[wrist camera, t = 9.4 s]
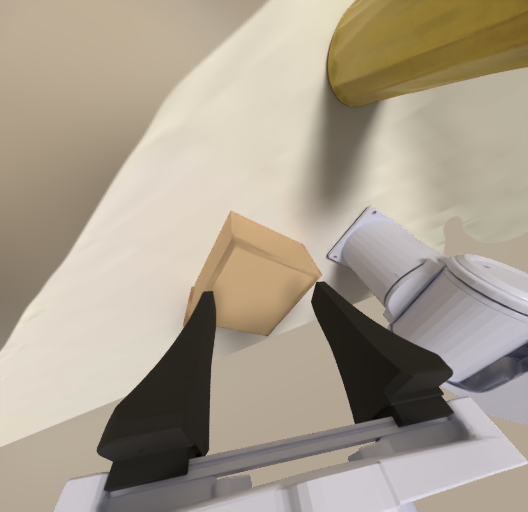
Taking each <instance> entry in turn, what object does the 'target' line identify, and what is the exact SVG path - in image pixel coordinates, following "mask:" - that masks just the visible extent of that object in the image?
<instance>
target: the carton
mask: <svg viewBox="0 0 528 512" xmlns="http://www.w3.org/2000/svg"><path fill="white" fill-rule="evenodd" d="M321 276H322V274H321V272H320V271H319V269H318V267H317V266H316V264H315V263H314V261H313V259H312V258H311V256H310V255H309V253H308V252H307V250H306V248H305V247H304V245H303V244H301V243H299V242H297V241H294V240H292V239H290V238H288V237H286V236H284V235H282V234H279V233H277V232H275V231H273V230H271V229H269V228H267V227H264V226H262V225H260V224H258V223H256V222H254V221H252V220H249V219H247V218H245V217H243V216H241V215H239V214H237V213H234V212H232V211H230V213H229V215H228V218H227V220H226V222H225V224H224V226H223V228H222V230H221V232H220V234H219V236H218V238H217V240H216V242H215V244H214V246H213V248H212V250H211V252H210V254H209V256H208V258H207V260H206V262H205V265H204V267H203V269H202V271H201V273H200V275H199V277H198V279H197V281H196V284H195V289H194V294H193V298H192V303H191V308H190V313H189V318H190V317H191V315H192V313H193V311H194V309H195V307H196V305H197V303H198V301H199V299H200V297H201V294H202V293H203V292H204V291H213V293H214V299H215V305H216V326H218V327H223V328H228V329H233V330H238V331H244V332H249V333H254V334H259V335H264V336H268V335H269V334H270V333H271V332H272V331H273V330H274V328H275V327H276V326H277V325H278V324H279V323H280V322H281V321H282V320H283V318H284V317H285V316H286V315H287V314H288V313H289V312H290V311H291V309H292V308H293V307H294V306H295V305H296V304H297V303H298V302H299V300H300V299H301V298H302V297H303V296H304V295H305V294H306V293H307V291H308V290H309V289H310V288H311V287H312V286H313V285H314V284H315V282H316V281H317V280H318V279H319V278H320V277H321ZM189 318H188V320H189Z"/></svg>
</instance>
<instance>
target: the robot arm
mask: <svg viewBox="0 0 528 512" xmlns="http://www.w3.org/2000/svg"><path fill="white" fill-rule="evenodd" d="M373 211H374V213H373ZM334 256H335V257H334ZM328 257H329V258H330V259H332V260H334V261H336V262H339V263H341V264H343V265H345V266H347V267H349V268H351V269H352V270H353V271H354V272H355V273H356V274H357V276H358V277H359V278H360V279H361V280H362V281H363V283H364V284H365V285H366V286H367V287H368V288H369V289H370V291H371V292H372V293H373V294H374V295H375V296H376V297H377V299H378V300H379V301H380V302H381V303H382V304H383V306H384V307H385V308H386V310H385V312H384V313H383V316H384V317H385V318H386V319H387V320H388V322H389V323H390V324H389V326H388V328H387V329H386V328H384V327H383V326H381V325H379V324H378V323H376V322H375V321H373V320H372V319H370V318H369V317H367V316H366V315H365V314H363V313H362V312H360V311H359V310H358V309H357V308H355V307H354V306H353V305H351V304H350V303H349V302H348V301H346V300H345V299H344V298H343V297H342V296H341V295H339V294H338V293H337V292H336V291H335V290H334V289H332V288H331V287H330V286H329V285H328V284H327V283H326V282H316V285H315V289H314V292H313V296H312V300H311V303H312V306H313V309H314V312H315V315H316V317H317V319H318V322H319V324H320V326H321V328H322V330H323V332H324V334H325V336H326V338H327V340H328V342H329V345H330V347H331V349H332V352H333V355H334V357H335V360H336V363H337V366H338V369H339V372H340V375H341V377H342V380H343V384H344V387H345V390H346V393H347V397H348V400H349V404H350V407H351V411H352V414H353V419H354V422H355V424H354V425H350V426H345V427H340V428H335V429H330V430H326V431H321V432H316V433H312V434H307V435H302V436H298V437H293V438H288V439H283V440H279V441H274V442H269V443H265V444H260V445H255V446H250V447H246V448H241V449H236V450H231V451H227V452H222V453H217V454H213V455H208V456H205V455H206V454H207V452H208V450H209V414H210V379H211V363H212V354H213V346H214V339H215V331H216V305H215V299H214V293H213V291H204V292H203V293H202V294H201V297H200V299H199V301H198V303H197V305H196V307H195V309H194V311H193V313H192V315H191V317H190V318H189V320H188V322H187V323H186V325H185V327H184V328H183V330H182V331H181V333H180V334H179V336H178V337H177V339H176V340H175V342H174V343H173V344H172V346H171V347H170V348H169V350H168V351H167V352H166V353H165V355H164V356H163V357H162V358H161V360H160V361H159V362H158V363H157V364H156V366H155V367H154V368H153V369H152V370H151V371H150V372H149V373H148V375H147V376H146V377H145V378H144V379H143V380H142V381H141V382H140V383H139V384H138V385H137V386H136V387H135V388H134V389H133V390H132V391H131V392H130V393H129V394H128V395H127V396H126V397H125V398H124V399H123V400H122V401H121V402H120V403H119V404H118V405H117V406H116V408H115V409H114V412H113V413H112V415H111V417H110V419H109V421H108V423H107V425H106V428H105V430H104V432H103V435H102V437H101V440H100V443H99V445H98V447H97V453H98V454H99V455H100V456H102V457H104V458H107V459H108V460H111V461H113V464H112V467H111V470H110V472H101V473H95V474H91V475H86V476H81V477H76V478H71V479H70V480H68V481H67V482H66V484H65V486H64V489H63V491H62V493H61V495H60V497H59V500H58V502H57V504H56V506H55V508H54V511H53V512H417V510H416V508H415V506H414V504H413V502H412V501H415V500H418V499H421V498H424V497H427V496H429V495H433V494H436V493H439V492H442V491H444V490H448V489H451V488H453V487H457V486H460V485H463V484H465V483H469V482H471V481H475V480H478V479H481V478H484V477H487V476H490V475H492V474H496V473H499V472H502V471H505V470H509V469H512V468H515V467H519V466H522V465H525V464H528V462H527V460H526V459H525V458H524V457H523V456H522V454H521V453H520V452H518V450H517V449H516V448H515V447H514V446H513V444H512V443H511V442H510V441H509V440H508V439H507V438H506V437H505V435H504V434H503V433H502V432H501V431H500V430H499V429H498V428H497V427H496V425H495V424H494V423H493V422H492V421H491V420H490V419H489V418H488V416H487V415H490V416H494V417H498V418H501V419H506V420H509V421H514V422H518V423H522V424H526V425H528V274H527V273H525V272H523V271H520V270H518V269H516V268H513V267H511V266H508V265H506V264H503V263H501V262H498V261H495V260H492V259H489V258H486V257H482V256H478V255H473V254H464V255H453V256H451V257H450V258H448V257H446V256H445V255H443V254H441V253H440V252H438V251H436V250H435V249H433V248H431V247H430V246H428V245H426V244H425V243H423V242H421V241H420V240H418V239H416V238H415V237H414V235H413V234H411V233H410V232H408V231H407V230H406V229H404V228H403V227H401V226H400V225H399V224H397V223H396V222H394V221H393V220H392V219H390V218H389V217H387V216H386V215H385V214H383V213H382V212H380V211H379V210H378V209H376V208H375V207H373V206H370V207H368V208H367V209H366V210H365V211H364V212H363V214H362V215H361V216H360V217H359V218H358V220H357V221H356V222H355V223H354V224H353V225H352V227H351V228H350V229H349V230H348V231H347V232H346V234H345V235H344V236H343V237H342V238H341V239H340V241H339V242H338V243H337V244H336V245H335V247H334V248H333V249H332V250H331V251H330V252H329V254H328ZM439 386H441V387H443V388H445V389H447V390H448V391H450V392H451V393H453V394H454V395H456V396H457V397H458V398H457V399H452V400H449V401H445V400H444V399H443V398H442V395H443V394H444V393H443V392H442V390H441V389H440V388H439ZM373 441H376V442H375V443H373V444H370V445H367V446H364V447H361V448H360V449H359V451H357V452H356V453H354V454H352V455H351V456H349V457H348V460H349V462H347V463H343V464H338V465H334V466H329V467H326V468H321V469H318V470H313V471H310V472H306V473H302V474H298V475H295V476H291V477H288V478H284V479H281V480H277V481H274V482H270V483H267V484H263V485H260V486H256V487H253V488H252V482H251V480H250V476H249V475H240V476H232V477H226V478H222V479H219V480H217V479H216V478H218V477H222V476H226V475H230V474H235V473H239V472H244V471H248V470H252V469H257V468H261V467H265V466H270V465H274V464H278V463H283V462H287V461H291V460H295V459H300V458H304V457H308V456H313V455H317V454H321V453H326V452H330V451H335V450H338V449H343V448H348V447H352V446H356V445H361V444H365V443H369V442H373Z"/></svg>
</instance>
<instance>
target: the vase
mask: <svg viewBox="0 0 528 512" xmlns="http://www.w3.org/2000/svg"><path fill="white" fill-rule="evenodd" d="M525 67H528V0H356V1H355V2H354V3H353V4H352V5H351V6H350V7H349V8H348V9H347V11H346V12H345V14H344V15H343V16H342V18H341V20H340V22H339V23H338V25H337V28H336V30H335V33H334V35H333V39H332V42H331V46H330V51H329V58H328V73H329V80H330V84H331V87H332V90H333V91H334V93H335V95H336V96H337V97H338V99H339V100H340V101H341V102H343V103H344V104H346V105H348V106H352V107H359V106H363V105H366V104H368V103H371V102H374V101H380V100H384V99H388V98H392V97H396V96H400V95H405V94H410V93H415V92H419V91H423V90H427V89H430V88H434V87H438V86H442V85H446V84H450V83H454V82H459V81H463V80H468V79H472V78H476V77H480V76H484V75H489V74H494V73H499V72H504V71H509V70H514V69H519V68H525Z"/></svg>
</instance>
